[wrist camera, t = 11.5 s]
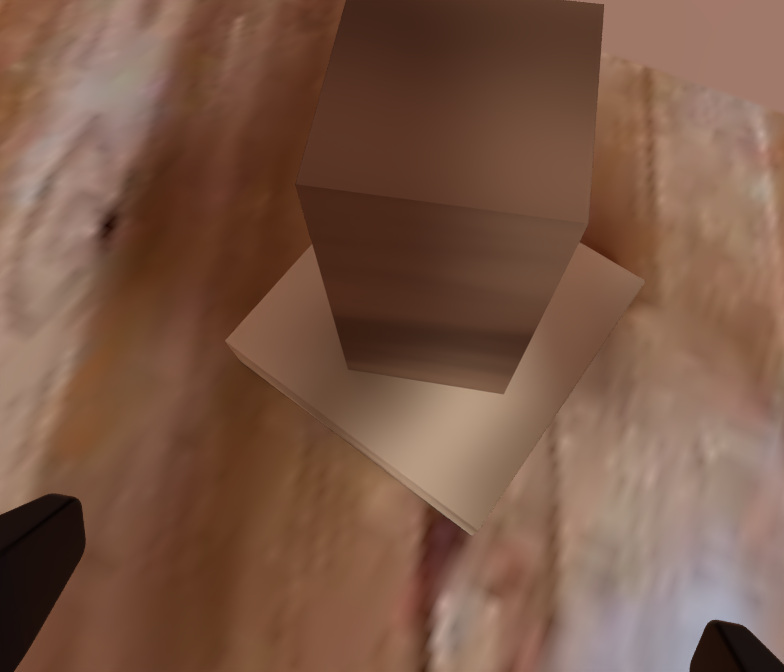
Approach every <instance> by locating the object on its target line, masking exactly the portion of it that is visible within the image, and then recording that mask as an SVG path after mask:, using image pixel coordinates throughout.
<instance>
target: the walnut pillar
mask: <svg viewBox="0 0 784 672" xmlns="http://www.w3.org/2000/svg"><path fill="white" fill-rule="evenodd" d="M603 13H604V4H595V3H586V2H576V1H566V0H346V3H345V6H344V10H343V13H342V17H341V21H340V24H339V28H338V31H337V35H336V39H335V42H334V46H333V50H332V53H331V57H330V60H329V64H328V68H327V71H326V75H325V79H324V82H323V86H322V89H321V93H320V97H319V100H318V104H317V107H316V111H315V115H314V118H313V122H312V126H311V129H310V133H309V136H308V140H307V144H306V147H305V151H304V154H303V158H302V162H301V165H300V169H299V173H298V176H297V180H296V183H295V185H296V188H297V192H298V196H299V199H300V203H301V206H302V210H303V213H304V217H305V220H306V224H307V227H308V231H309V234H310V238H311V241H312V245H313V248H314V252H315V255H316V259H317V262H318V266H319V269H320V273H321V276H322V280H323V283H324V287H325V290H326V294H327V297H328V301H329V305H330V308H331V312H332V315H333V319H334V322H335V326H336V329H337V333H338V336H339V340H340V343H341V347H342V350H343V354H344V357H345V361H346V364H347V368H348V370H354V371H361V372H367V373H373V374H379V375H385V376H392V377H398V378H404V379H410V380H417V381H423V382H429V383H435V384H442V385H448V386H454V387H460V388H467V389H473V390H479V391H485V392H492V393H498V394H504V393H505V391H506V389H507V387H508V385H509V383H510V381H511V379H512V377H513V375H514V373H515V371H516V369H517V367H518V365H519V363H520V361H521V359H522V357H523V355H524V353H525V351H526V349H527V347H528V345H529V343H530V341H531V339H532V337H533V335H534V333H535V331H536V329H537V326H538V324H539V322H540V320H541V318H542V316H543V314H544V312H545V310H546V308H547V306H548V304H549V302H550V300H551V298H552V296H553V294H554V292H555V290H556V288H557V286H558V284H559V282H560V280H561V278H562V276H563V274H564V272H565V270H566V268H567V266H568V264H569V262H570V260H571V258H572V256H573V254H574V252H575V250H576V248H577V246H578V244H579V242H580V240H581V238H582V236H583V234H584V232H585V230H586V228H587V226H588V224H589V210H590V196H591V182H592V168H593V154H594V140H595V126H596V112H597V98H598V84H599V69H600V55H601V41H602V27H603Z"/></svg>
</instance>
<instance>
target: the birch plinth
mask: <svg viewBox="0 0 784 672" xmlns="http://www.w3.org/2000/svg"><path fill="white" fill-rule="evenodd" d="M644 283H645V280H643V279H641V278H640V277H638V276H636V275H635V274H633V273H631V272H629V271H628V270H626V269H624V268H623V267H621V266H619V265H618V264H616V263H614V262H612V261H611V260H609V259H607V258H606V257H604V256H602V255H601V254H599V253H597V252H595V251H594V250H592V249H590V248H589V247H587V246H585V245H584V244H582V243H580V242H579V244H578V246H577V248H576V250H575V252H574V254H573V256H572V258H571V260H570V262H569V264H568V266H567V268H566V270H565V272H564V274H563V276H562V278H561V280H560V282H559V284H558V286H557V288H556V290H555V292H554V294H553V296H552V298H551V300H550V302H549V304H548V306H547V308H546V310H545V312H544V314H543V316H542V318H541V320H540V322H539V324H538V326H537V329H536V331H535V333H534V335H533V337H532V339H531V341H530V343H529V345H528V347H527V349H526V351H525V353H524V355H523V357H522V359H521V361H520V363H519V365H518V367H517V369H516V371H515V373H514V375H513V377H512V379H511V381H510V383H509V385H508V387H507V389H506V391H505V393H504V394H498V393H492V392H485V391H479V390H473V389H467V388H460V387H454V386H448V385H442V384H435V383H429V382H423V381H417V380H410V379H404V378H398V377H392V376H385V375H379V374H373V373H367V372H361V371H354V370H348V368H347V364H346V361H345V357H344V354H343V350H342V347H341V343H340V340H339V336H338V333H337V329H336V326H335V322H334V319H333V315H332V312H331V308H330V305H329V301H328V297H327V294H326V290H325V287H324V283H323V280H322V276H321V273H320V269H319V266H318V262H317V259H316V255H315V252H314V248H313V245H312V244H311V245H310V246H309V248H308V249H307V250H306V251H305V252H304V253H303V254H302V255H301V256H300V258H299V259H298V260H297V261H296V262H295V263H294V264H293V265H292V266H291V268H290V269H289V270H288V271H287V272H286V273H285V274H284V275H283V277H282V278H281V279H280V280H279V281H278V282H277V283H276V284H275V285H274V287H273V288H272V289H271V290H270V291H269V292H268V293H267V294H266V295H265V297H264V298H263V299H262V300H261V301H260V302H259V303H258V304H257V306H256V307H255V308H254V309H253V310H252V311H251V312H250V313H249V314H248V316H247V317H246V318H245V319H244V320H243V321H242V322H241V323H240V324H239V326H238V327H237V328H236V329H235V330H234V331H233V332H232V333H231V334H230V336H229V337H228V338H227V339H226V340H225V342H226V343H227V344H228V346H229V347H230V348H231V350H232V351H233V352H234V354H235V355H236V356H237V358H238V359H239V360H240V361H241V362H242V363H243V364H245V365H246V366H247V367H249V368H250V369H251V370H253V371H254V372H255V373H257V374H258V375H259V376H261V377H262V378H263V379H265V380H266V381H267V382H269V383H270V384H271V385H273V386H274V387H275V388H276V389H278V390H279V391H280V392H282V393H283V394H284V395H286V396H287V397H288V398H290V399H291V400H292V401H294V402H295V403H296V404H298V405H299V406H300V407H302V408H303V409H304V410H306V411H307V412H308V413H310V414H311V415H312V416H314V417H315V418H316V419H318V420H319V421H320V422H322V423H323V424H324V425H326V426H327V427H328V428H330V429H331V430H332V431H334V432H335V433H336V434H338V435H339V436H340V437H342V438H343V439H344V440H346V441H347V442H348V443H350V444H351V445H352V446H354V447H355V448H356V449H357V450H359V451H360V452H361V453H363V454H364V455H365V456H367V457H368V458H369V459H371V460H372V461H373V462H375V463H376V464H377V465H379V466H380V467H381V468H383V469H384V470H385V471H387V472H388V473H389V474H391V475H392V476H393V477H395V478H396V479H397V480H399V481H400V482H401V483H403V484H404V485H405V486H407V487H408V488H409V489H411V490H412V491H413V492H415V493H416V494H417V495H419V496H420V497H421V498H423V499H424V500H425V501H427V502H428V503H429V504H431V505H432V506H433V507H434V508H436V509H437V510H438V511H440V512H441V513H442V514H444V515H445V516H446V517H448V518H449V519H450V520H452V521H453V522H454V523H456V524H457V525H458V526H460V527H461V528H462V529H464V530H465V531H466V532H468V533H469V534H470V535H474V534H475V533H476V532H478V531H479V529H480V528H481V526H482V525H483V523H484V522H485V520H486V519H487V517H488V516H489V514H490V513H491V511H492V510H493V508H494V507H495V505H496V504H497V502H498V501H499V499H500V498H501V496H502V495H503V493H504V492H505V490H506V489H507V487H508V486H509V484H510V483H511V481H512V480H513V478H514V477H515V475H516V474H517V472H518V471H519V469H520V468H521V466H522V465H523V463H524V462H525V460H526V459H527V457H528V456H529V454H530V453H531V451H532V450H533V448H534V447H535V446H536V444H537V443H538V441H539V440H540V438H541V437H542V435H543V434H544V432H545V431H546V429H547V428H548V426H549V425H550V423H551V422H552V420H553V419H554V417H555V416H556V414H557V413H558V411H559V410H560V408H561V407H562V405H563V404H564V402H565V401H566V399H567V398H568V396H569V395H570V393H571V392H572V390H573V389H574V387H575V386H576V384H577V383H578V381H579V380H580V378H581V377H582V375H583V374H584V372H585V371H586V369H587V368H588V366H589V365H590V363H591V362H592V360H593V359H594V357H595V356H596V354H597V353H598V351H599V350H600V348H601V347H602V345H603V344H604V342H605V341H606V339H607V338H608V336H609V335H610V333H611V332H612V330H613V329H614V327H615V326H616V324H617V323H618V321H619V320H620V318H621V317H622V315H623V314H624V312H625V311H626V309H627V308H628V306H629V305H630V303H631V302H632V301H633V299H634V298H635V296H636V295H637V293H638V292H639V290H640V289H641V287H642V286H643V284H644Z"/></svg>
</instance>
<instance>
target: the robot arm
mask: <svg viewBox="0 0 784 672" xmlns="http://www.w3.org/2000/svg"><path fill="white" fill-rule="evenodd" d="M85 543H86V538H85V529H84V521H83V512H82V505H81V502H80V501H79V499H77V498H76V497H72V496H67V495H61V494H56V493H52V494H48V495H45V496H42V497H40V498H38V499H36V500H33V501H31V502H29V503H26V504H24V505H22V506H20V507H17V508H15V509H13V510H10V511H8V512H6V513H4V514H1V515H0V672H14V671H15V669H16V668H17V666H18V665H19V663H20V662H21V660H22V659H23V657H24V656H25V654H26V653H27V651H28V650H29V648H30V646H31V645H32V643H33V641H34V640H35V638H36V636H37V635H38V633H39V631H40V629H41V628H42V626H43V624H44V622H45V621H46V619H47V617H48V615H49V614H50V612H51V610H52V608H53V607H54V605H55V603H56V601H57V600H58V598H59V596H60V594H61V593H62V591H63V589H64V587H65V586H66V584H67V582H68V580H69V579H70V577H71V575H72V573H73V572H74V570H75V568H76V566H77V565H78V563H79V561H80V559H81V557H82V555H83V552H84V549H85ZM690 672H784V664H783V663H782V662H781V661H780V660H779V659H778V658H777V657H776V656H775V655H774V654H773V653H772V652H771V651H770V650H769V649H768V648H767V647H766V646H765V645H764V644H763V643H762V642H761V641H760V640H759V639H758V638H757V637H756V636H755V635H754V634H753V633H752V632H751V631H749V630H748V629H747V628H746V627H744V626H743V625H740V624H736V623H731V622H726V621H720V620H712V621H710V622H709V623H708V624H707V625H706V627H705V629H704V632H703V634H702V636H701V639H700V641H699V643H698V646H697V648H696V650H695V653H694V655H693V657H692V660H691V664H690Z"/></svg>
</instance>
